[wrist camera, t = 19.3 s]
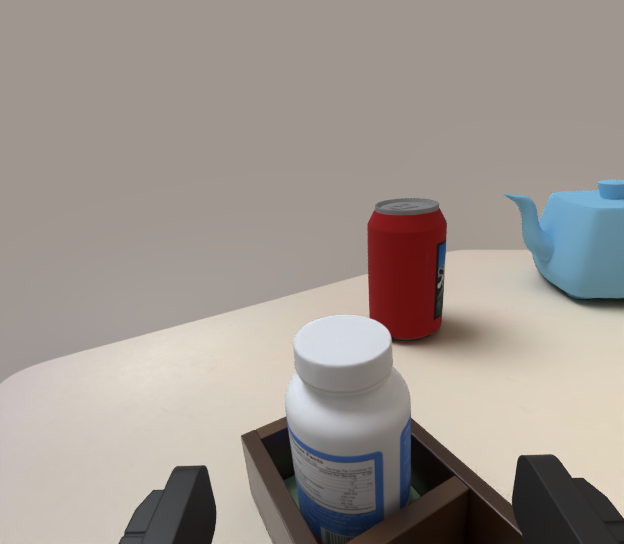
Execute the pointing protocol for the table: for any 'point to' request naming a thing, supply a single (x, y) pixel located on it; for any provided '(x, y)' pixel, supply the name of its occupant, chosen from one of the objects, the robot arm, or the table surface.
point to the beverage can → (407, 266)
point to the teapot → (579, 239)
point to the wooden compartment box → (404, 523)
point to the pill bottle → (348, 427)
